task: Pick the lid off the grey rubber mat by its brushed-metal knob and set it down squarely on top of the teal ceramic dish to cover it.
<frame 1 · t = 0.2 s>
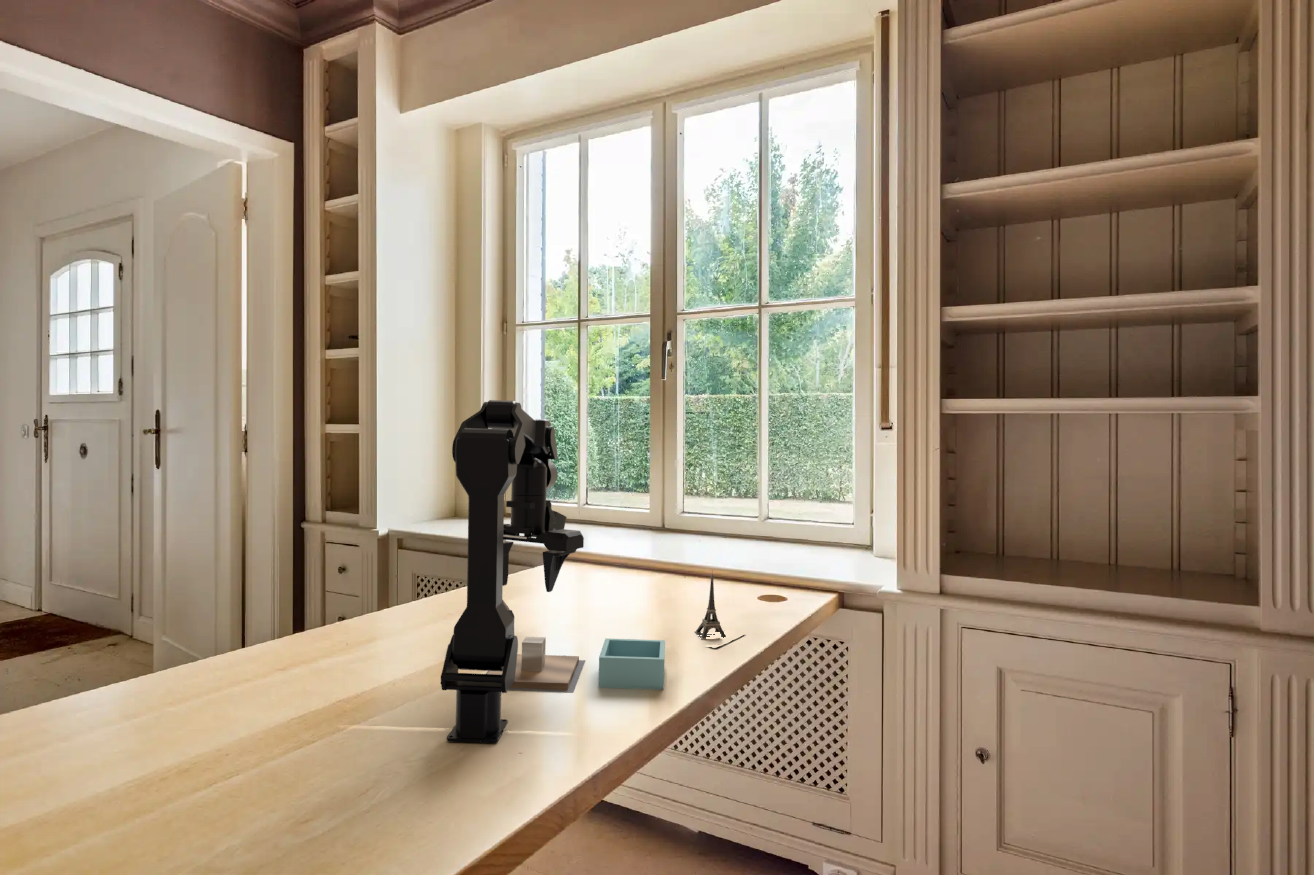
hand: (526, 588, 122), 13 cm above the table, fingers open, 9 cm apart
eiffel tower figurine: (712, 639, 144), on the table
mat: (533, 676, 118), on the table
dish: (632, 679, 118), on the table
vase: (492, 642, 137), on the table
lid: (533, 673, 118), resting on mat
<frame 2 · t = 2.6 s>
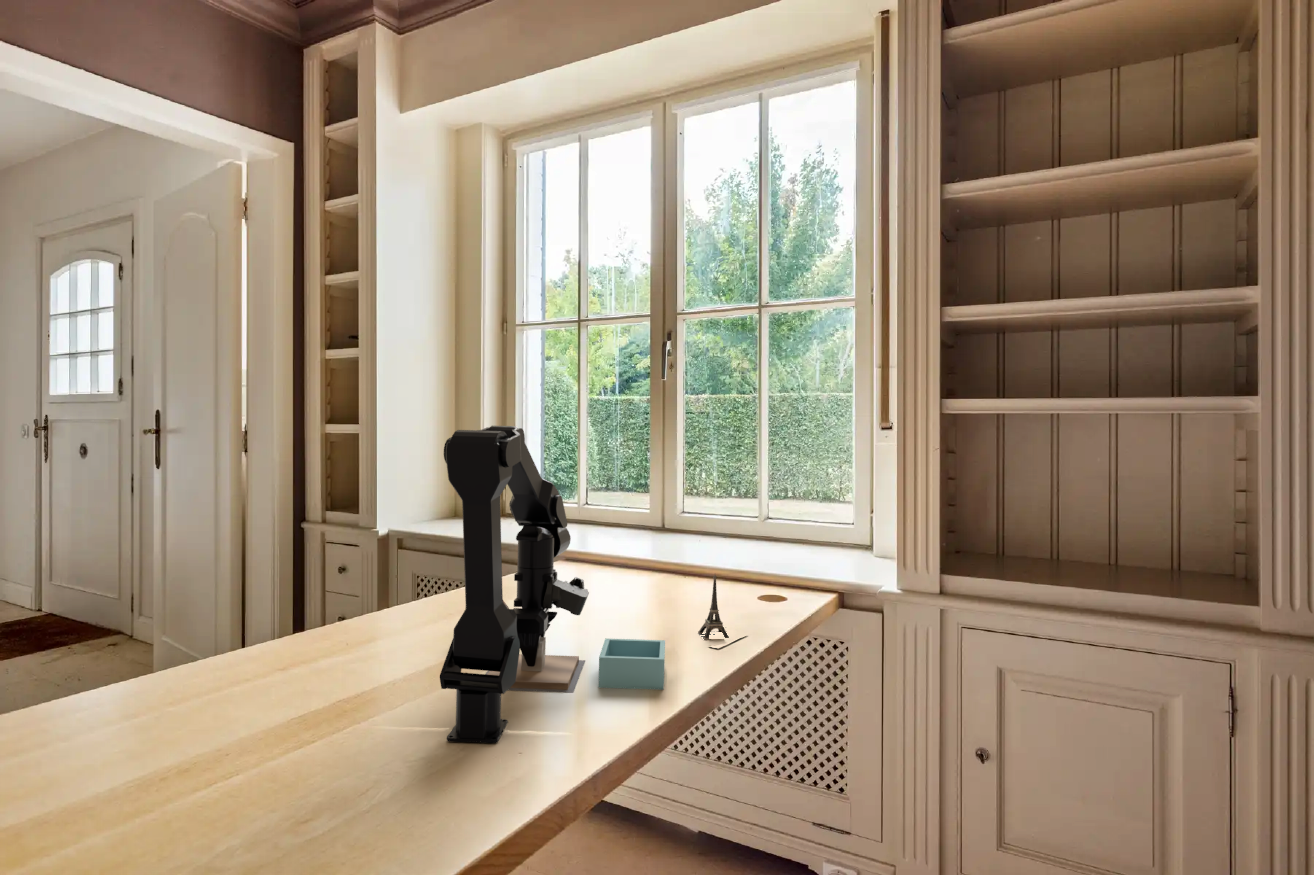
hand: (533, 662, 118), 2 cm above the table, fingers closed on lid, 3 cm apart
lid: (533, 673, 118), resting on mat, touching gripper
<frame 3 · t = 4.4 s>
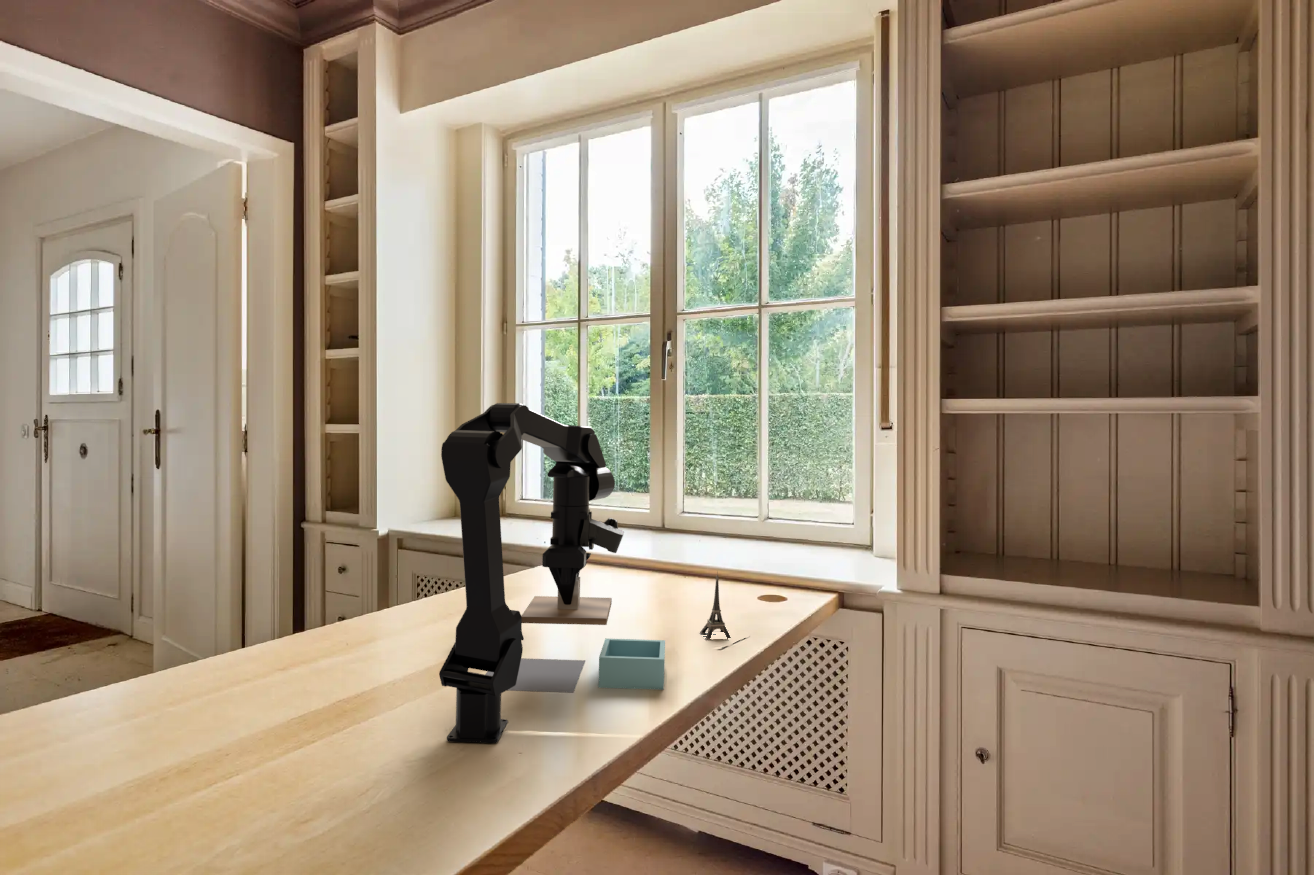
hand: (569, 601, 118), 12 cm above the table, fingers closed on lid, 3 cm apart
lid: (568, 612, 118), point 10 cm above the table, touching gripper
when the fingers open (8 cm above the table, at t = 6.3 s): lid drops 1 cm, resting on dish.
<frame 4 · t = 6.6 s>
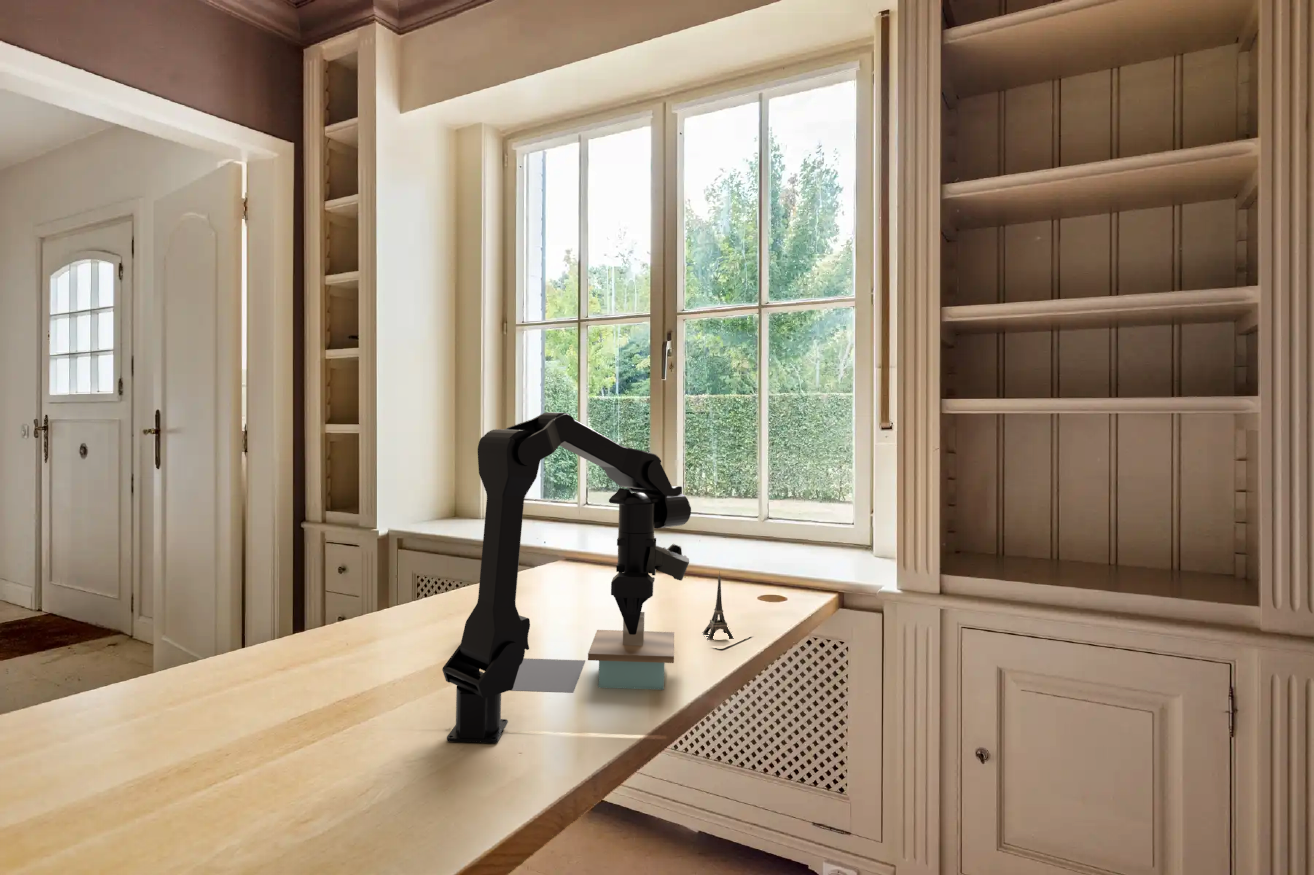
hand: (633, 628, 118), 8 cm above the table, fingers open, 6 cm apart
lid: (633, 648, 118), point 5 cm above the table, touching dish
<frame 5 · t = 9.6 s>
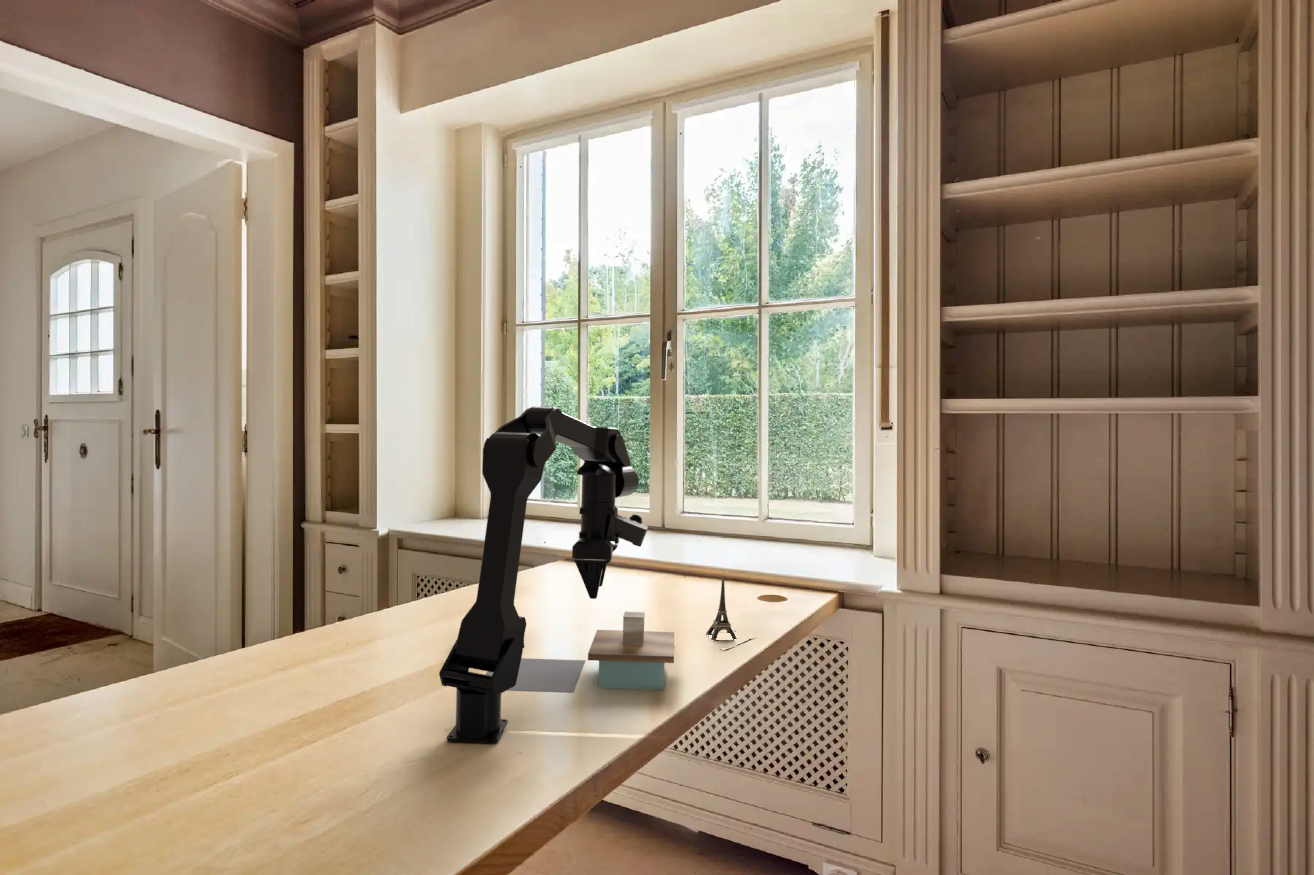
hand: (596, 592, 126), 12 cm above the table, fingers open, 9 cm apart
at the end: lid 0.0 cm off-centre on the dish, point 5.0 cm above the dish's base; lid tilted 0°; the gripper is holding nothing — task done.
